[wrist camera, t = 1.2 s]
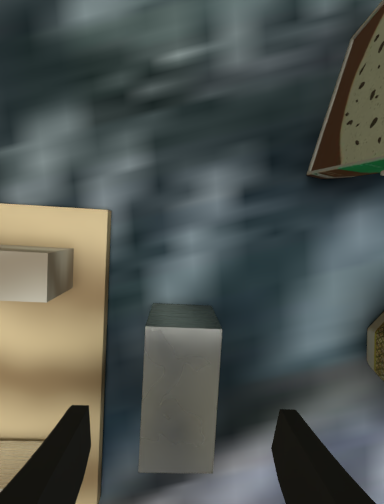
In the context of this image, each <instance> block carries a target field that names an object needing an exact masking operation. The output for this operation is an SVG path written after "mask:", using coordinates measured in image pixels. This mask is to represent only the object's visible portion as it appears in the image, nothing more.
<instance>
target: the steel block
mask: <svg viewBox="0 0 384 504" xmlns="http://www.w3.org/2000/svg"><path fill="white" fill-rule="evenodd" d="M221 341H222V328H221V326H220V323H219V321H218V319H217V317H216V315H215V313H214V311H213V308H212V306H209V305H185V304H162V303H153V304H152V307H151V310H150V313H149V317H148V320H147V323H146V326H145V345H144V366H143V387H142V408H141V429H140V450H139V471H138V473H213V461H214V446H215V431H216V416H217V401H218V386H219V371H220V356H221Z"/></svg>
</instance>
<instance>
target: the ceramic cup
mask: <svg viewBox="0 0 384 504" xmlns="http://www.w3.org/2000/svg"><path fill="white" fill-rule="evenodd" d="M367 362H368V364H369V366H370V367H371V368H372V369H373V370H374V371H375V372H376V374H377V375H378V376H379V377H380V378H381V379H382V380H383V381H384V312H383V313H382V314H381V315H380V316H379V317H378V318H377V319H376V320H375V321H374V322H373V323H372V324H371V325H370V327H369V328H368V330H367Z"/></svg>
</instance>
